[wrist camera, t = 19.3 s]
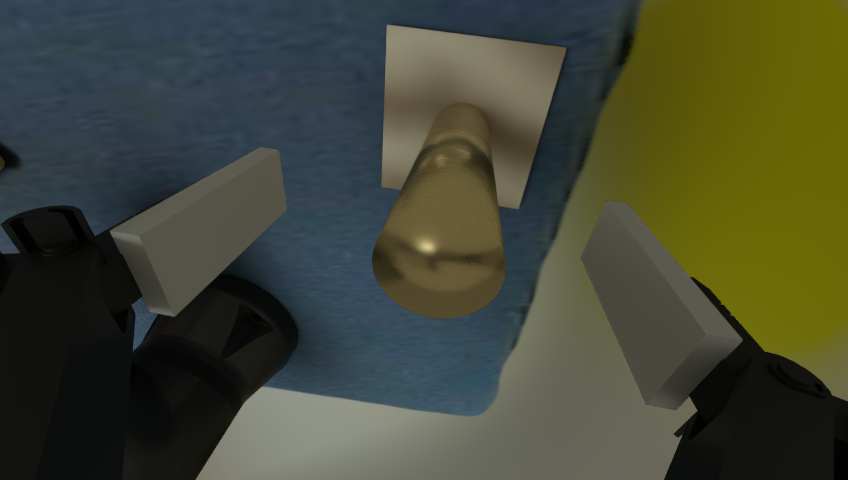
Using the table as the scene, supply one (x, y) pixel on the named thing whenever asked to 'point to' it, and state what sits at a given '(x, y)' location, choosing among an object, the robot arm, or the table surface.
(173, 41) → the table surface
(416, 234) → the brass capsule
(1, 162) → the croissant
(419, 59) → the birch pad
